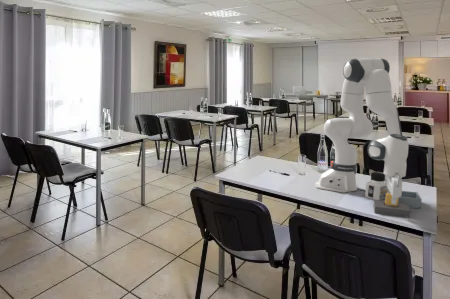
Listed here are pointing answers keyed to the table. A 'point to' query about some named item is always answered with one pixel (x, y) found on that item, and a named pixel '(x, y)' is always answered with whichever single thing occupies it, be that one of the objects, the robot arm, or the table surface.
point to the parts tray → (410, 199)
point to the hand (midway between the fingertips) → (391, 200)
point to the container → (376, 186)
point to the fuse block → (391, 208)
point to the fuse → (388, 200)
